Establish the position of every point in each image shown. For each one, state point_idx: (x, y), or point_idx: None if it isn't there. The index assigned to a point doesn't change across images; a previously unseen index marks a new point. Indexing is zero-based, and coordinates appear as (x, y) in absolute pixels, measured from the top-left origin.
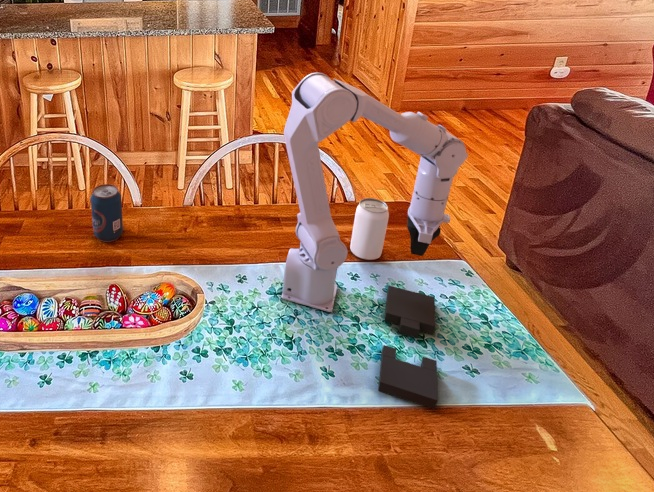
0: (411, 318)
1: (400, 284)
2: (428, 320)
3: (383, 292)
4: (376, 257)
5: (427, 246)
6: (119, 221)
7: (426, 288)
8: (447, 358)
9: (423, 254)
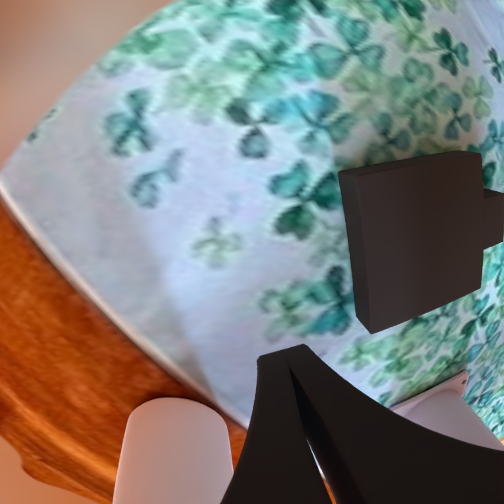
0: (482, 223)
1: (282, 300)
2: (472, 175)
3: (355, 325)
4: (199, 407)
5: (359, 393)
6: None
7: (245, 214)
8: (497, 113)
9: (309, 349)
